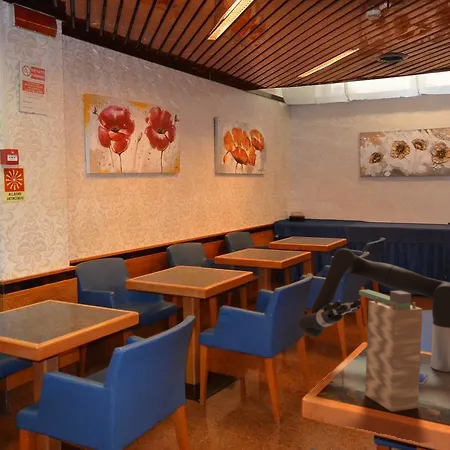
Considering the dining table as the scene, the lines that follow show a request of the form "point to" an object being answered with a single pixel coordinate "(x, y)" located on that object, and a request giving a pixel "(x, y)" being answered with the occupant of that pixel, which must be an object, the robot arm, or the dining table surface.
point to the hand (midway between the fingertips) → (349, 302)
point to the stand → (393, 355)
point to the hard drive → (422, 378)
